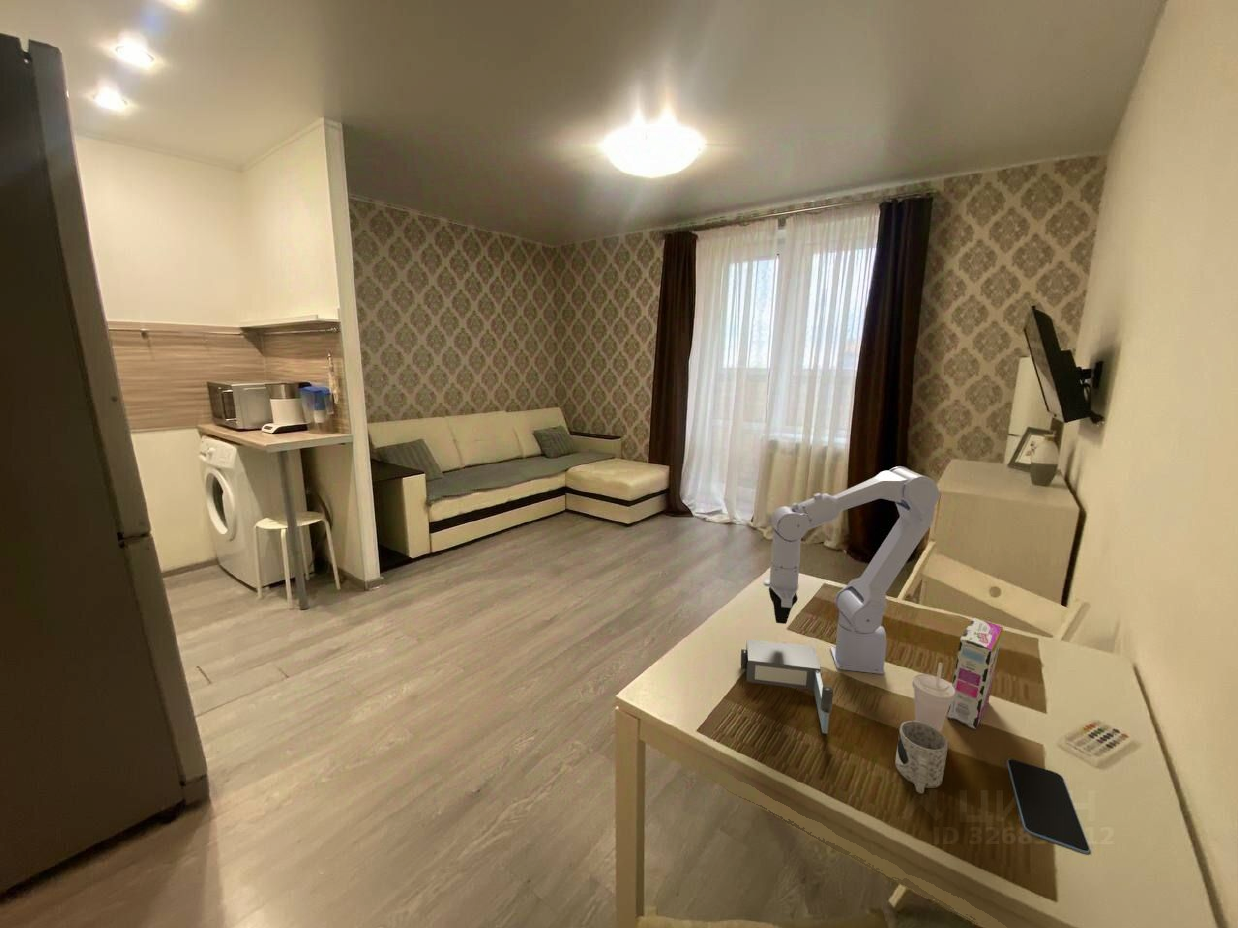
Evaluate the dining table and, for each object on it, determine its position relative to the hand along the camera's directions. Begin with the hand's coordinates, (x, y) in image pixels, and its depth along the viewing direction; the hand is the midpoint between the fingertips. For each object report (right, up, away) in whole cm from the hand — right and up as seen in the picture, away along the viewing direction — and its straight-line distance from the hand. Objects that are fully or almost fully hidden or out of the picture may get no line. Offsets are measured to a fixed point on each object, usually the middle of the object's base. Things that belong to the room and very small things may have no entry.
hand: (780, 621), depth 108 cm
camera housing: (-1, -10, -3) cm, 11 cm away
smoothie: (+20, -14, -19) cm, 31 cm away
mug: (+13, -16, -29) cm, 35 cm away
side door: (+3, -12, -14) cm, 19 cm away
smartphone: (+29, -17, -33) cm, 47 cm away
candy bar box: (+31, -13, -13) cm, 36 cm away
